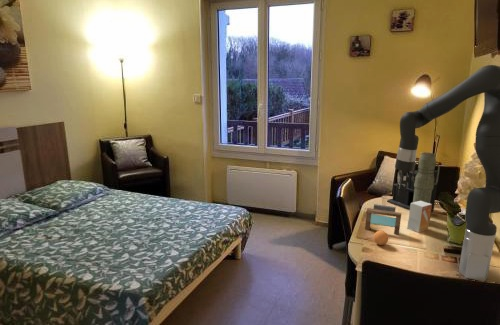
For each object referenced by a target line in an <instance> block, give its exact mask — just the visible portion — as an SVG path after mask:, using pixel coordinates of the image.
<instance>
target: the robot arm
mask: <svg viewBox="0 0 500 325" xmlns="http://www.w3.org/2000/svg"><path fill="white" fill-rule="evenodd" d="M481 94H483V95H484V96H483V97H484V100H483V101H484V103H483V104H484V105H483V111H482V114H481V117H480V119H479V122H478V124H477V127H476V132H475V141H474V142H475V146H474V148H475V152H476V156H477V158H478V159H479V161H480V163H481V166H482V167H483V169H484V174H485V186H483V187H475V188H473V189H471V190H470V191H469V193H468V195H467V198H466V204H465V206H466V207H465V210H466V213H465V220H466V229H465V235H464V240H463V242H462V247H461V252H460V259H459V267H458V272H459V273H460V274H461V275H462V276H463V277H464V278H465V279H469V280H470V279H471V280H476V281H480V282H486V280H487V279H488V277H489V271H490V267H491V266H490V265H491V262H492V261H491V260H492V257H493V256H492V255H493V249H494V245H495V239H496V235H497V225H496V224H494V223H493V222H491V221H490V214H496V213H497V214H498V213H500V65H496V64H494V65H493V64H489V65H485V66H482V67H481V68H479V69H478V70H476V71H475V72H474V73H472V74H471V75H470V76H468V77H467V78H465V79H464V80H463V81H462V82H460V83H459V84H457V85H456V86H454V87H453V88H451V89H450V90H447V91H446V92H444V93H443V94H441V95H438V96H437V97H435V98H433V99H432V100H430V101H428V102H426V103H425V104H424V105H422V107H421V108H419V109H417V110H415V111H406V112H404V113H403V114H402V116H401V118H400V120H399V133H400V140H399V145H398V149H397V154H396V158H395V159H396V161H395V165H394V168H395V169H396V170H398V172H397V177H396V178H397V180H396V182H397V183H398V184H397V191H399V192H398V197H399V198H403V197H404V191H405V190H406V186H407V183H408V182H409V173H408V172H409V171H413V170H414V166H415V162H417V161H416V160H417V156H418V155H417V154H418V152H417V151H418V147H419V146H418V145H419V139H420V138H419V135H416V129H420V128H422V127H424V126H426V125H428V124H429V123H430V122H432V121H433V120H435V119H437V118H440V117H442V116H444V115H446V114H447V113H449V112H451V111H452V110H454V109H455V108H457V107H458V106H459V105H460V104H462V103H463V102H465V101H466V100H468V99H471V98H472V97H474V96H478V95H481ZM415 167H416V166H415ZM403 185H404V187H403Z"/></svg>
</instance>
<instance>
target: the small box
mask: <svg viewBox="0 0 500 325" xmlns="http://www.w3.org/2000/svg"><path fill="white" fill-rule="evenodd" d="M431 208H432V204H430V203H427V202H423V201H417V202H413V203H411V204H410V210H409V211H408V212H409V213H408V220H407V221H408V222H407V227H406V228H407V229H409V230H411V231H413V232H416V233H419V234H420V233H421V232H425V231H427V230H429V227H430V226H429V225H430V219H431V215H432V214H431V213H432V212H431Z"/></svg>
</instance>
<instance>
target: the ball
mask: <svg viewBox="0 0 500 325" xmlns="http://www.w3.org/2000/svg"><path fill="white" fill-rule="evenodd" d="M373 240H374V242H375V243H376V244H377V245H378V246H383V245H386V244H387V243H388V242H389V236H388V234H387V232H385V231H383V230H378V231H376V232H374V234H373Z"/></svg>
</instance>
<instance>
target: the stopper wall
mask: <svg viewBox="0 0 500 325" xmlns="http://www.w3.org/2000/svg"><path fill="white" fill-rule="evenodd" d="M396 207H397V206H393V205H392V206H390V205H382V204H377V203H374V204H373V209H378V210H385V211H392V212H396Z"/></svg>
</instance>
